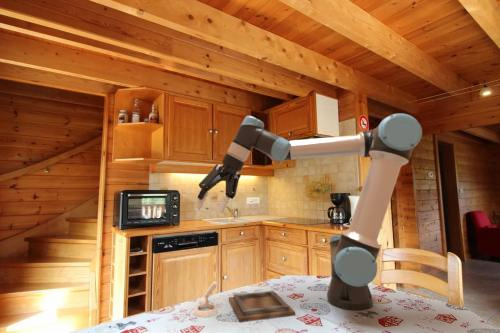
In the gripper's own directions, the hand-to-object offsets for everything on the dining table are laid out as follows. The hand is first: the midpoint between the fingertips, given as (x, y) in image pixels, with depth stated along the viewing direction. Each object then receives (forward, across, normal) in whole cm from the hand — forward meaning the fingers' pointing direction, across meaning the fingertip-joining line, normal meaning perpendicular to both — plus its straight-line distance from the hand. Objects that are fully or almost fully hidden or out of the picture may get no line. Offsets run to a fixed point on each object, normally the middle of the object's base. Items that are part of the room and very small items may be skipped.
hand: (208, 210), depth 97 cm
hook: (+28, 0, +18) cm, 33 cm away
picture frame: (+20, -11, +29) cm, 37 cm away
